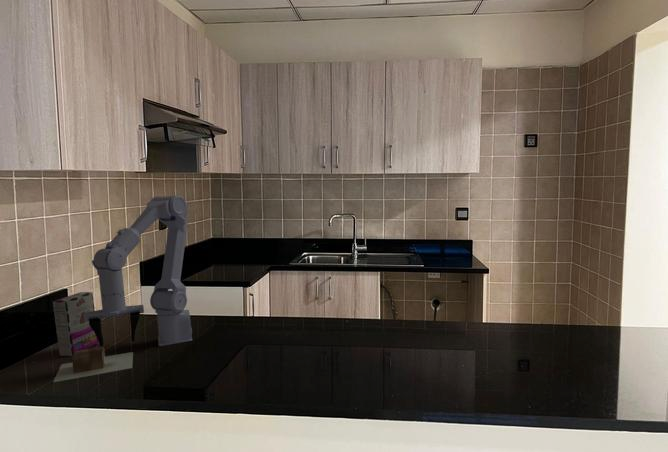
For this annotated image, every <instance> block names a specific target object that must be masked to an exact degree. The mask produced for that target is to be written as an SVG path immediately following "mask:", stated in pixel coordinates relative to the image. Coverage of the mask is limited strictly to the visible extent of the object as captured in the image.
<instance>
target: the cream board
mask: <svg viewBox="0 0 668 452" xmlns="http://www.w3.org/2000/svg"><path fill="white" fill-rule="evenodd" d="M133 360H134V352H131V351H130V352H126V353H120V354H113V355H107V356H106V355H105V365H104V368H101V369H96V370H90V371H84V372H78V373H74V372H73V362H72V361H71V362H67V363H61V365H60V366H59V369H58V371H57V372H56V375H55V377H54V379H53V381H52V382H53V383H58V382H64V381H68V380H69V381H70V380H74V379H80V378H86V377H90V376H96V375H101V374H107V373H113V372H117V371H124V370H130V369H133Z"/></svg>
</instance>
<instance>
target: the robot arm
mask: <svg viewBox="0 0 668 452" xmlns="http://www.w3.org/2000/svg"><path fill="white" fill-rule="evenodd" d="M188 209H189V204H188V202H187V201H186V199H185V198H184V197H183V196H182V195H179V194H175V195H168V196H167V195H165V196H159V195H158V196H154V197H152V198H151V199H150V200H149V201H148V202H147V204H146V207H145V209H144V210H143V211H142V212H141V213H140V215H139V216H138V217H137V218H136V220H135V221H134V222H133V223H132V224H131V226H130V227H129V228H128V227H125V228H122V229H118V231H117V232H116V233H117V235H115V237H113V239H112V240H111V241H110V242H109V241H108V242H107V243H106V244H105V245H106V246H105V247H104V248H101V249H99V250H97V251H96V252H95V254H94V256H93V260H91V263H92V267H94V268H95V270H96V271H97V272H96V273H97V276H98V281H99V290H100V300H101V309H98V310H95V311H92V312H86V313H84V321H89V325H90V327H91V328H92V329H93V331H94V332H95V334H96V336H97V338H98V341H99V347H104V338H103V332H102V331H103V329H102V319H107V318H113V317H114V318H115V317H120V316H127V315H129V323H130V330H131V333H130V337H131V340H130V341H131V342H135V338H136V337H135V334H136V330H137V326H138V324H139V323H138V322H139V320H140V315H141V314H144V313H145V309H144V304H139V305H138V304H137V305H135V304H134V305H126V297H125V296H126V295H125V285H124V275H123V268H124V267H125V266H126V264H127V259H128V257H129V255H130V254H131V253H132V252H133V251H134V249H135V248H136V247H137V246H138V245H139V243H140V242H141V236H142V234H144V232H146V231H147V229H148V228H150V226H152V225H153V224H154V223H155V222H156V221H157V220H159V221H160V222H161V223H163V224H164V225H165V226H166V227H167V237H166V243H165V249H164V250H165V251H164V257H163V263H162V264H163V265H162V271H161V272H162V273H161V279H159V281H158V282H157V283H155V285H154V289H153V292H152V293H151V295H150V300H149V301H150V307H151V308H152V309H153V310H154V311H155V314H156V315H157V325H158V326H157V328H158V337H157V341H158V342H157V343H158V347H163V346H169V345H175V344H181V343H186V342H187V343H188V342H192V341H193V336H192V334H193V329H192V324H191V316H190V311H189V309H185V308H186V306H187V303H188V297H187V287H186V285H185V284H184V283H182V281H181V277H182V269H183V261H184V254H185V247H186V240H187V233H188V232H187V231H188V219H187V218H188Z"/></svg>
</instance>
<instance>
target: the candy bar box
mask: <svg viewBox="0 0 668 452" xmlns="http://www.w3.org/2000/svg"><path fill="white" fill-rule="evenodd" d="M93 293H94V292H93V291H85V292H84V291H79V292H77V293H74V294H71V295H68V296H65V297H61V298H59V299H56V300H53V301H52V310H53V316H54V324H55V329H56V330H55V333H56V339H57V344H58V345H57V346H58V352H59V353H58V354H59V356H61V357H62V356H63V357H73V355H74V352H75V351H79V350H86V349H92V348H94V347H95V346H97V345H98V344H99V345H100V343H99V341H98V338H97V336H96V334H95V332H94V331H93V329H92V328H91V327H90V325H89V321H84V313H86V312H92V311H96V310H95V309H96V308H95V304H94V303H95V302H94V295H93Z"/></svg>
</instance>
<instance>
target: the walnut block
mask: <svg viewBox="0 0 668 452" xmlns="http://www.w3.org/2000/svg"><path fill="white" fill-rule="evenodd" d="M105 352H106V351H105V346H102V347H100V346H99V347H91V348H89V349H86V350H79V351H75V352H74V355H73V356H71V357H72V358H71V360H72V361H71V363H72V362H73V372H74V373H78V372H84V371H90V370H96V369H101V368H104V365H105V357H106V354H105Z"/></svg>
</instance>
